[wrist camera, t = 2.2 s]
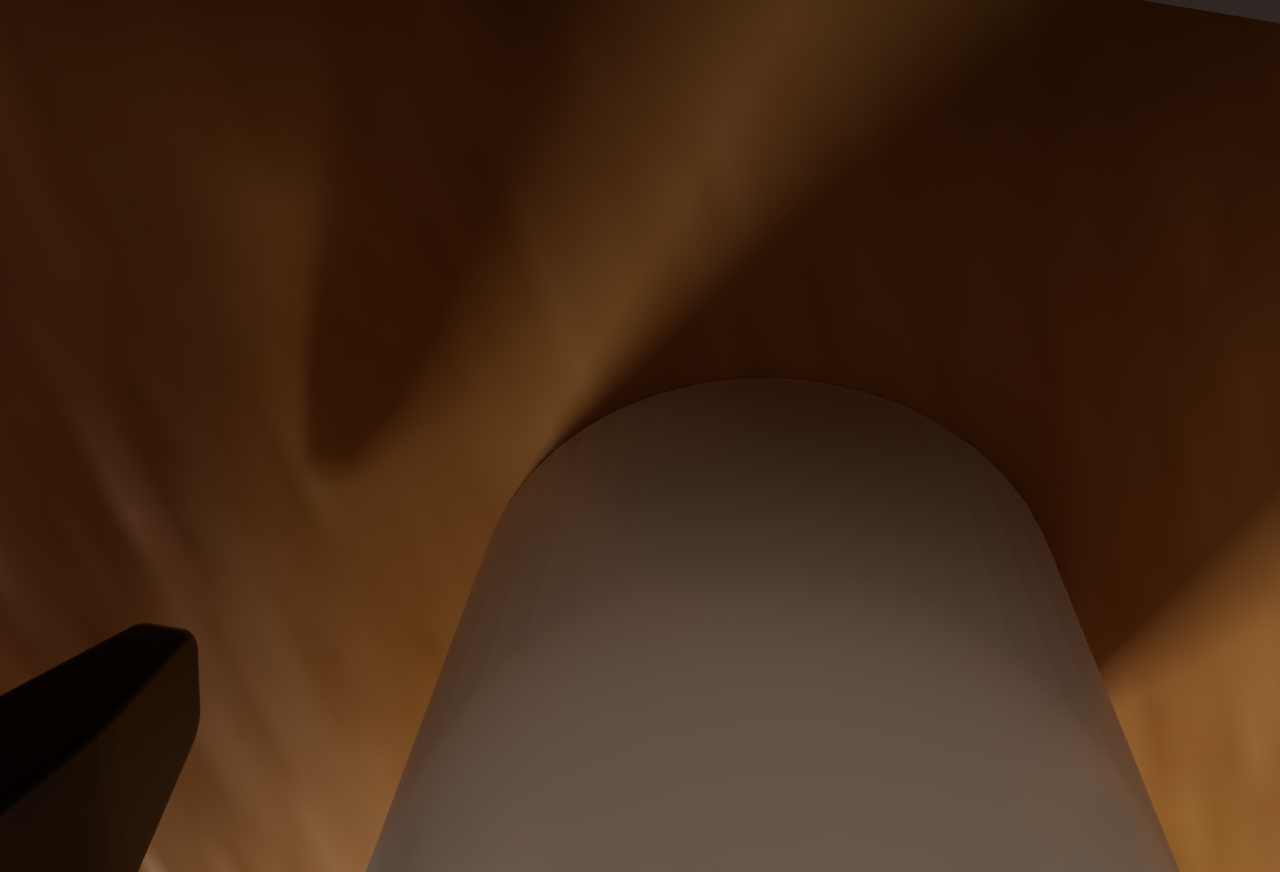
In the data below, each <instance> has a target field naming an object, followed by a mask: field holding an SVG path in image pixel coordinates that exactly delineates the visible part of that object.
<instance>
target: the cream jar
mask: <svg viewBox="0 0 1280 872" xmlns="http://www.w3.org/2000/svg"><path fill="white" fill-rule="evenodd" d="M366 872H1180V871H1179V869H1178V866H1177V864H1176V861H1175V859H1174V856H1173V854H1172V851H1171V849H1170V846H1169V844H1168V841H1167V839H1166V837H1165V834H1164V832H1163V829H1162V827H1161V824H1160V822H1159V819H1158V817H1157V814H1156V812H1155V809H1154V807H1153V804H1152V802H1151V799H1150V797H1149V794H1148V792H1147V789H1146V787H1145V784H1144V782H1143V779H1142V777H1141V774H1140V772H1139V770H1138V767H1137V765H1136V762H1135V760H1134V757H1133V755H1132V752H1131V750H1130V747H1129V745H1128V742H1127V740H1126V737H1125V735H1124V732H1123V730H1122V727H1121V725H1120V722H1119V720H1118V717H1117V715H1116V712H1115V710H1114V707H1113V705H1112V702H1111V700H1110V698H1109V695H1108V693H1107V690H1106V688H1105V685H1104V683H1103V680H1102V678H1101V675H1100V673H1099V670H1098V668H1097V665H1096V663H1095V660H1094V658H1093V655H1092V653H1091V650H1090V648H1089V645H1088V643H1087V640H1086V638H1085V635H1084V633H1083V631H1082V628H1081V626H1080V623H1079V621H1078V618H1077V616H1076V613H1075V611H1074V608H1073V606H1072V603H1071V601H1070V598H1069V596H1068V593H1067V591H1066V588H1065V586H1064V583H1063V581H1062V578H1061V576H1060V573H1059V571H1058V568H1057V566H1056V563H1055V561H1054V559H1053V556H1052V554H1051V551H1050V549H1049V546H1048V544H1047V541H1046V539H1045V536H1044V534H1043V532H1042V530H1041V528H1040V527H1039V525H1038V523H1037V521H1036V520H1035V518H1034V516H1033V514H1032V513H1031V511H1030V509H1029V507H1028V506H1027V504H1026V502H1025V501H1024V500H1023V499H1022V497H1021V496H1020V495H1019V494H1018V492H1017V491H1016V490H1015V489H1014V487H1013V486H1012V485H1011V484H1010V482H1009V481H1008V480H1007V479H1006V477H1005V476H1004V475H1003V474H1002V473H1001V472H1000V471H999V470H998V469H997V468H996V467H995V466H994V465H993V464H991V463H990V462H989V461H988V460H987V459H986V458H985V457H984V456H983V455H982V454H981V453H980V452H979V451H978V450H976V449H975V448H974V447H972V446H971V445H970V444H968V443H967V442H965V441H964V440H963V439H961V438H960V437H958V436H957V435H955V434H954V433H953V432H951V431H950V430H948V429H947V428H945V427H944V426H942V425H940V424H938V423H937V422H935V421H933V420H931V419H929V418H927V417H925V416H923V415H921V414H919V413H917V412H915V411H914V410H912V409H910V408H908V407H905V406H903V405H900V404H897V403H894V402H892V401H889V400H886V399H884V398H881V397H878V396H876V395H873V394H870V393H867V392H863V391H859V390H854V389H850V388H846V387H842V386H837V385H833V384H829V383H823V382H814V381H805V380H796V379H787V378H739V379H731V380H724V381H716V382H708V383H700V384H695V385H691V386H687V387H683V388H679V389H675V390H671V391H667V392H663V393H659V394H656V395H654V396H651V397H648V398H646V399H643V400H641V401H638V402H636V403H633V404H630V405H628V406H625V407H623V408H620V409H618V410H616V411H615V412H613V413H611V414H609V415H607V416H605V417H604V418H602V419H600V420H598V421H596V422H594V423H593V424H591V425H589V426H587V427H585V428H584V429H583V430H581V431H580V432H579V433H577V434H576V435H574V436H573V437H572V438H570V439H569V440H568V441H566V442H565V443H564V444H562V445H561V446H559V447H558V448H557V449H555V450H554V451H553V452H552V453H551V454H550V455H549V456H548V457H547V458H546V459H545V460H544V461H543V462H542V463H541V464H540V465H539V466H538V467H537V468H536V469H535V470H534V471H533V472H532V473H531V474H530V475H529V476H528V478H527V479H526V480H525V481H524V483H523V484H522V485H521V487H520V488H519V489H518V491H517V492H516V493H515V495H514V496H513V497H512V499H511V500H510V501H509V503H508V505H507V506H506V508H505V510H504V512H503V514H502V516H501V517H500V519H499V521H498V523H497V525H496V527H495V529H494V530H493V533H492V536H491V538H490V541H489V544H488V546H487V549H486V552H485V554H484V557H483V560H482V562H481V565H480V568H479V570H478V573H477V576H476V578H475V581H474V584H473V587H472V589H471V592H470V595H469V597H468V600H467V603H466V605H465V608H464V611H463V613H462V616H461V619H460V621H459V624H458V627H457V629H456V632H455V635H454V637H453V640H452V643H451V645H450V648H449V651H448V654H447V656H446V659H445V662H444V664H443V667H442V670H441V672H440V675H439V678H438V680H437V683H436V686H435V688H434V691H433V694H432V696H431V699H430V702H429V704H428V707H427V710H426V712H425V715H424V718H423V721H422V723H421V726H420V729H419V731H418V734H417V737H416V739H415V742H414V745H413V747H412V750H411V753H410V755H409V758H408V761H407V763H406V766H405V769H404V771H403V774H402V777H401V779H400V782H399V785H398V788H397V790H396V793H395V796H394V798H393V801H392V804H391V806H390V809H389V812H388V814H387V817H386V820H385V822H384V825H383V828H382V830H381V833H380V836H379V838H378V841H377V844H376V846H375V849H374V852H373V855H372V857H371V860H370V863H369V865H368V868H367V871H366Z"/></svg>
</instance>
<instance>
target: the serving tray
mask: <svg viewBox="0 0 1280 872" xmlns="http://www.w3.org/2000/svg"><path fill="white" fill-rule="evenodd" d="M1144 1H1150V2H1156V3H1162V4H1168V5H1174V6H1180V7H1186V8H1192V9H1197V10H1203V11H1209V12H1215V13H1221V14H1227V15H1233V16H1239V17H1245V18H1251V19H1257V20H1263V21H1269V22H1275V23H1280V0H1144Z"/></svg>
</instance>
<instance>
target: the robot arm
mask: <svg viewBox="0 0 1280 872" xmlns="http://www.w3.org/2000/svg"><path fill="white" fill-rule="evenodd" d="M199 719H200V694H199V670H198V648H197V643H196V640H195V637H194V635H193V634H192V633H190V632H189V631H188V630H185V629H180V628H174V627H168V626H163V625H157V624H151V623H140V624H137V625H134V626H132V627H129V628H127V629H126V630H124V631H122V632H120V633H118V634H116V635H114V636H112V637H110V638H109V639H107V640H105V641H103V642H101V643H99V644H97V645H95V646H93V647H92V648H90V649H88V650H86V651H84V652H82V653H80V654H78V655H76V656H75V657H73V658H71V659H69V660H67V661H65V662H63V663H61V664H59V665H58V666H56V667H54V668H52V669H50V670H48V671H46V672H44V673H42V674H41V675H39V676H37V677H35V678H33V679H31V680H29V681H27V682H25V683H23V684H22V685H20V686H18V687H16V688H14V689H12V690H10V691H8V692H6V693H5V694H3V695H1V696H0V872H138V871H139V868H140V866H141V864H142V861H143V859H144V857H145V854H146V852H147V850H148V847H149V845H150V843H151V840H152V838H153V836H154V833H155V831H156V829H157V826H158V824H159V822H160V819H161V817H162V815H163V812H164V810H165V808H166V805H167V803H168V801H169V799H170V796H171V794H172V792H173V789H174V787H175V785H176V782H177V780H178V778H179V775H180V773H181V771H182V768H183V766H184V764H185V761H186V759H187V757H188V754H189V752H190V750H191V747H192V745H193V742H194V740H195V737H196V733H197V730H198V725H199Z"/></svg>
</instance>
